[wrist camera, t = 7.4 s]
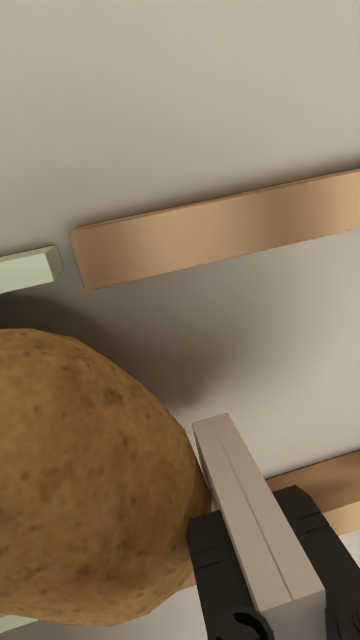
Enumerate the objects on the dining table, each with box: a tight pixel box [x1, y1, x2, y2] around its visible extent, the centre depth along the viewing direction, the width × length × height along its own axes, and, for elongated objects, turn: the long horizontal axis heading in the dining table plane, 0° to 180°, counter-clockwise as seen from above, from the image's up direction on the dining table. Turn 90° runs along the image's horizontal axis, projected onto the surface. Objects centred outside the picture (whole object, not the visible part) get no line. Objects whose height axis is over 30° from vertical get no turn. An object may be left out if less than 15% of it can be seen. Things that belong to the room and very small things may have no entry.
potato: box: [0, 328, 212, 626], centre depth 12 cm, size 10×14×8 cm
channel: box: [68, 168, 360, 591], centre depth 16 cm, size 14×18×3 cm
